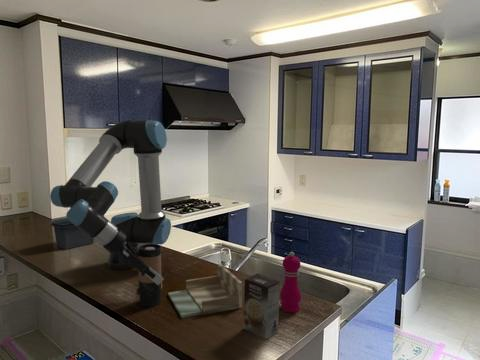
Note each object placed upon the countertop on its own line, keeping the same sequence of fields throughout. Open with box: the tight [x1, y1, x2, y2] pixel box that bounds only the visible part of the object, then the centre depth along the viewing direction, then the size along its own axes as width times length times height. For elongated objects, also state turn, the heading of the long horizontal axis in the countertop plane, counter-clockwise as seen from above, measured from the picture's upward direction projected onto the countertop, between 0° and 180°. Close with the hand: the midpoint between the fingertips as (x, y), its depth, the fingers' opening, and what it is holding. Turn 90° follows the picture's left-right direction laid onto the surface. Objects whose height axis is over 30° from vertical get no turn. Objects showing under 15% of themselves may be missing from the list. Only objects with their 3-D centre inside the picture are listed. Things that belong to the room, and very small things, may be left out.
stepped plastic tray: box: [167, 263, 243, 319], centre depth 131 cm, size 20×21×9 cm
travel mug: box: [138, 244, 162, 308], centre depth 129 cm, size 8×8×20 cm
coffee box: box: [243, 273, 281, 340], centre depth 111 cm, size 9×6×16 cm
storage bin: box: [50, 217, 94, 250], centre depth 197 cm, size 21×16×14 cm
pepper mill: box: [279, 251, 302, 314], centre depth 126 cm, size 7×7×20 cm
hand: (156, 275), depth 130 cm, fingers open, 13 cm apart
